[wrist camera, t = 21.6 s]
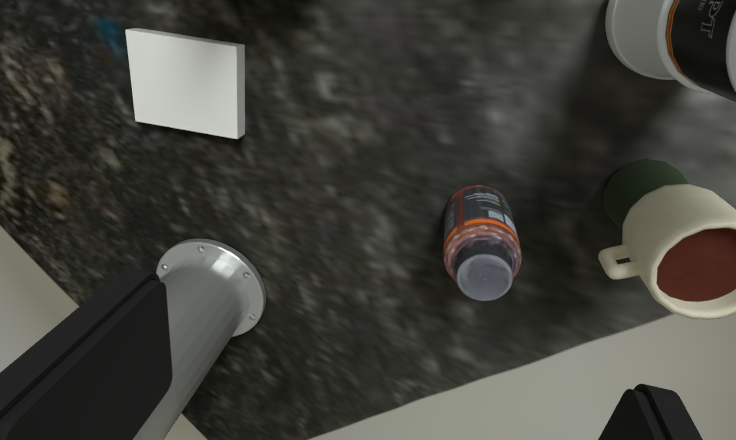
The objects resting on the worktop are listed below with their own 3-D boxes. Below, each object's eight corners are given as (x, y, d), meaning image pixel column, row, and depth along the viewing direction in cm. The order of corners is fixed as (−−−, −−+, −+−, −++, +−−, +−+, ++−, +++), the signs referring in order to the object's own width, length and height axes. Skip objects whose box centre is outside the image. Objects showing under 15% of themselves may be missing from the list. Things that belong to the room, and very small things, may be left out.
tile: (237, 139, 43) (135, 121, 44) (246, 132, 44) (148, 115, 45) (236, 46, 39) (125, 29, 40) (246, 44, 41) (140, 27, 42)
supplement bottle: (450, 244, 45) (447, 316, 35) (440, 187, 43) (434, 247, 33) (514, 236, 44) (530, 309, 34) (507, 177, 41) (522, 237, 31)
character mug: (581, 243, 43) (626, 336, 31) (563, 173, 40) (605, 247, 29) (717, 210, 40) (823, 300, 28) (707, 132, 37) (818, 196, 26)
